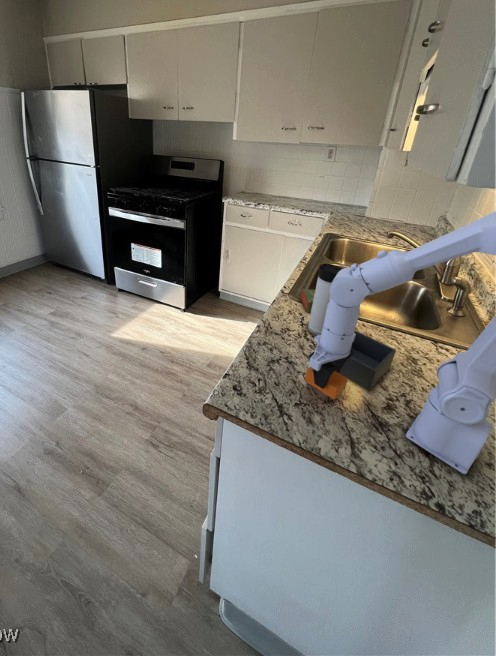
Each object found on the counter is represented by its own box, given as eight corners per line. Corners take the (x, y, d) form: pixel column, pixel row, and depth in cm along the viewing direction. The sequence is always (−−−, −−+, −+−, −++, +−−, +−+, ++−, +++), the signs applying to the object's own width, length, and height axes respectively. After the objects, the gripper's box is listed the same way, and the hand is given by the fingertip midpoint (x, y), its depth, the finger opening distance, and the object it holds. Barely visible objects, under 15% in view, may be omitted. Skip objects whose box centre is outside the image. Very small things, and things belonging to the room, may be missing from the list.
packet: (344, 389, 67) (347, 378, 65) (334, 400, 64) (337, 389, 63) (315, 371, 71) (318, 360, 70) (304, 380, 69) (306, 369, 67)
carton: (358, 314, 97) (361, 303, 95) (306, 312, 98) (308, 301, 96) (348, 301, 105) (351, 289, 103) (300, 299, 105) (302, 287, 103)
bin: (389, 368, 76) (396, 349, 74) (369, 390, 69) (376, 371, 67) (338, 341, 85) (343, 324, 82) (316, 359, 78) (320, 341, 76)
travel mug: (305, 322, 93) (317, 260, 84) (328, 324, 92) (342, 262, 83) (308, 335, 87) (321, 270, 78) (332, 337, 86) (349, 272, 78)
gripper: (338, 306, 68) (326, 355, 74) (300, 331, 60) (290, 385, 65) (370, 320, 64) (355, 372, 69) (334, 350, 55) (320, 406, 61)
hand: (325, 379), depth 67 cm, fingers closed on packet, 4 cm apart
